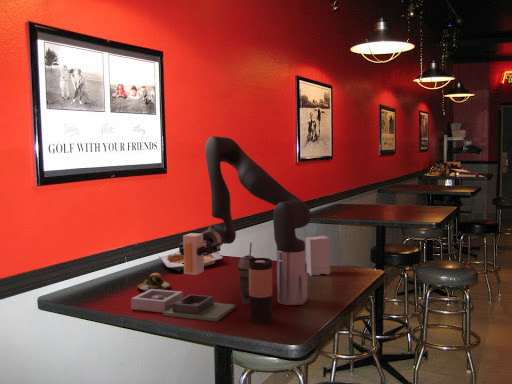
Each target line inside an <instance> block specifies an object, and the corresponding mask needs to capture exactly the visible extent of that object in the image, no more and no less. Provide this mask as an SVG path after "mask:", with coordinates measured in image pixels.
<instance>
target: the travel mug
mask: <svg viewBox="0 0 512 384" xmlns="http://www.w3.org/2000/svg"><path fill="white" fill-rule="evenodd" d="M272 264H273V260H272V259H271V258H269V257H255V258H253V259H250V260H249V304H248V306H249V320H250V322H251V323H253V324H258V325H262V324H263V325H264V324H265V325H266V324H269V323H271V322H272V321H273V265H272Z"/></svg>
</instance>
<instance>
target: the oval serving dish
mask: <svg viewBox="0 0 512 384" xmlns="http://www.w3.org/2000/svg"><path fill="white" fill-rule="evenodd" d="M158 258H159V259H160V261H161V263H163V264H164V266H165V267H167V268H170V269H172V270H175V271H177V272H181V271H182V270H183V271H184V264H182V263H184V255H181V254H180V252H179V251H177V252H176V253H171V254H167V255H163V256H158ZM220 259H223V255H221V254H220V251H218V252H215V253H212V254H209V255H205V256H204V268H205V267H207V266H211V265H213V264H215V263H216V260H220Z"/></svg>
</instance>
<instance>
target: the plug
mask: <svg viewBox="0 0 512 384" xmlns="http://www.w3.org/2000/svg"><path fill="white" fill-rule="evenodd" d="M182 242H183V248H184V270H183V274H184V275H194V276H197V275H200V274H201V273H203V272H204V271H205V267H204V254H202V255H201V256H198V248H200V247H203V234H200V233H197V232H196V233H195V232H190V233H187V234H184V235H182Z"/></svg>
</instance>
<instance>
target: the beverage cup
mask: <svg viewBox="0 0 512 384" xmlns="http://www.w3.org/2000/svg"><path fill="white" fill-rule="evenodd" d="M252 244H253V243H252V242H250V243H249V253H248V255H244V256H242V257H241V258H240V260H239V261H238V265H237V272H238V275H239V284H240V294H241V295H240V296H241V300H242V301H241V303H242V304H244V305H249V260H250V259H253V258H256V257H255V256H253V255H252V247H253V246H252Z"/></svg>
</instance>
